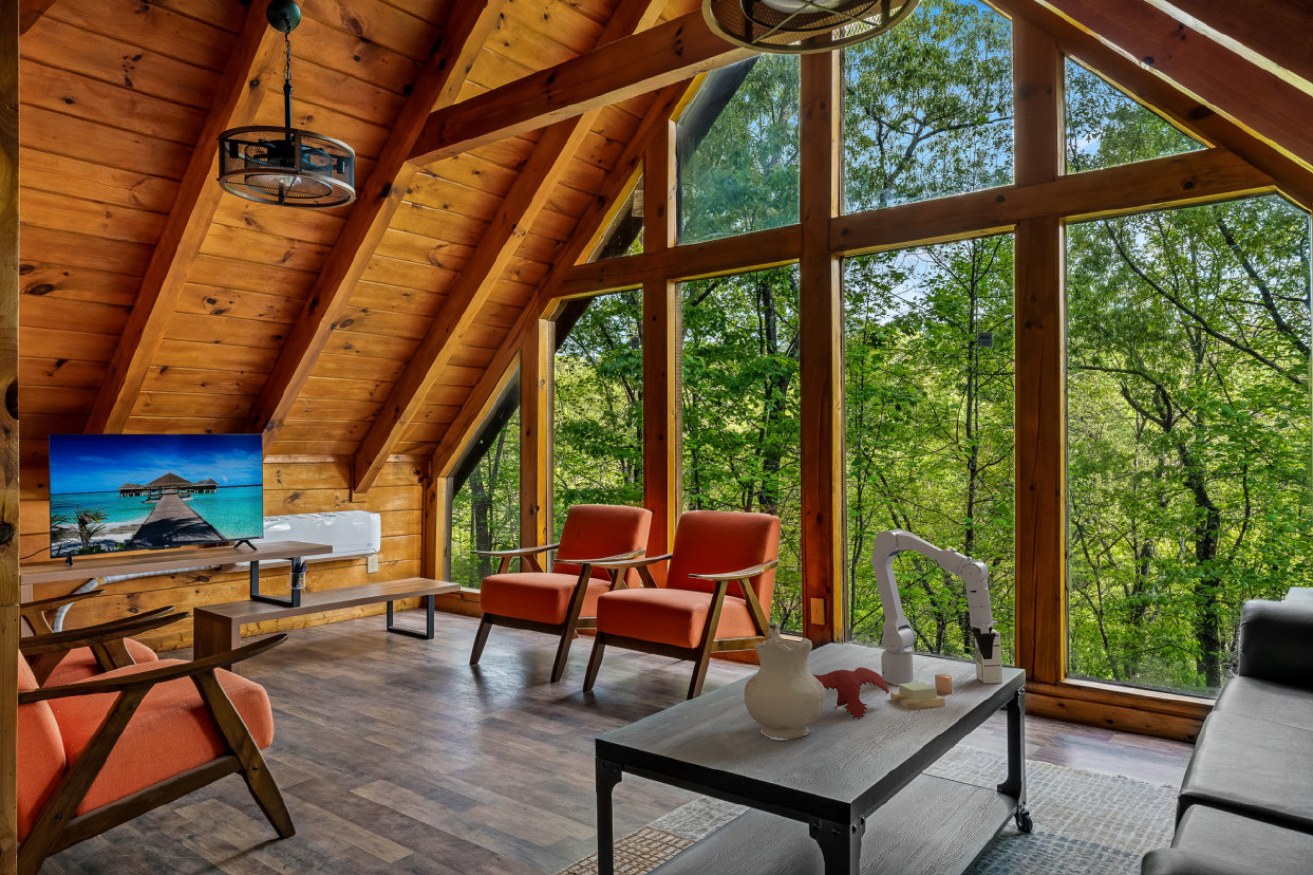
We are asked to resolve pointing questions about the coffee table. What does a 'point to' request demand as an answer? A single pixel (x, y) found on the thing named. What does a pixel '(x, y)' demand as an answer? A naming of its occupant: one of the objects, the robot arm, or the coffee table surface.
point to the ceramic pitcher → (784, 687)
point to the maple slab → (917, 701)
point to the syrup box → (990, 663)
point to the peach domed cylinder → (943, 684)
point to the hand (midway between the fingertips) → (986, 656)
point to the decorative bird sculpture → (851, 687)
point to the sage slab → (917, 691)
